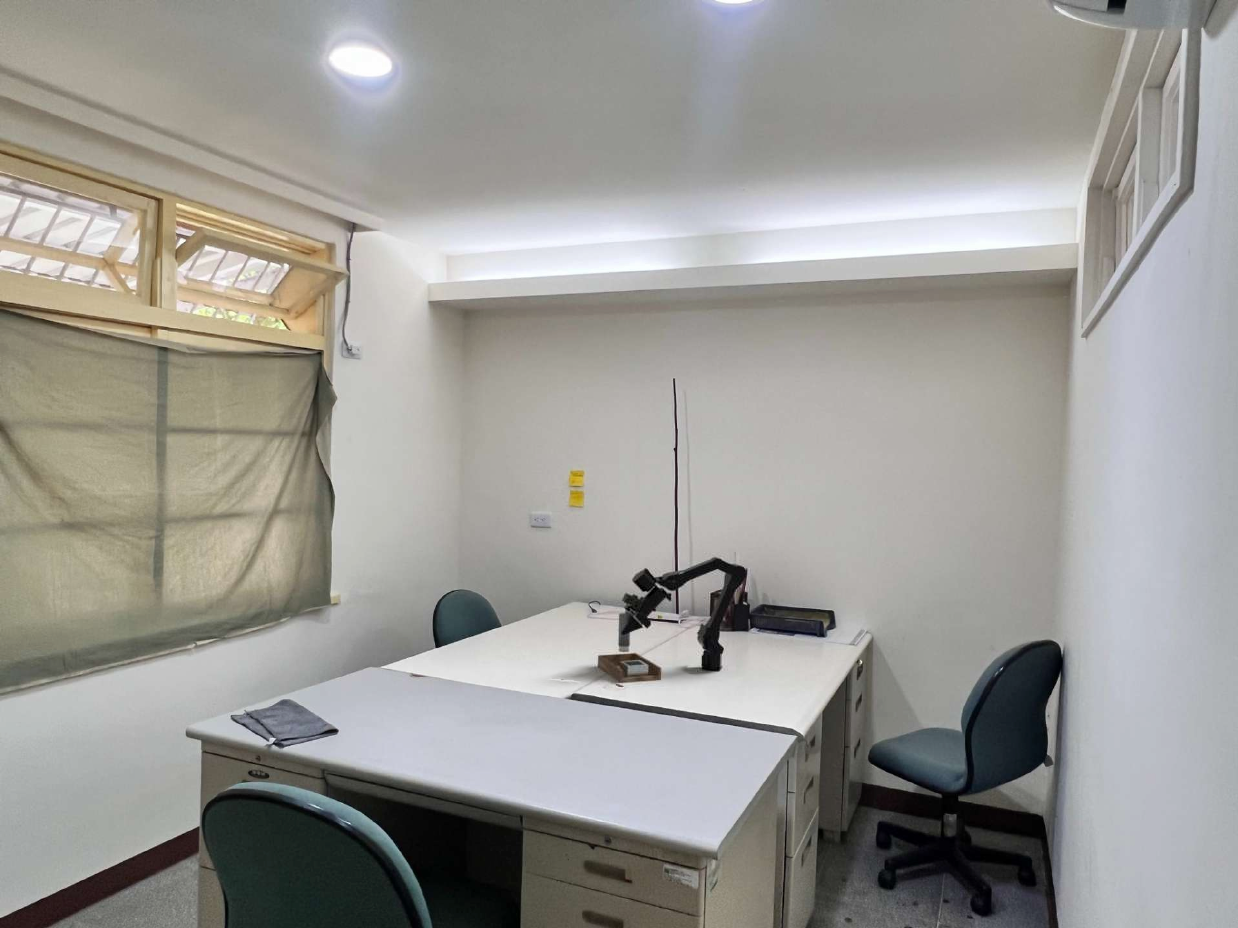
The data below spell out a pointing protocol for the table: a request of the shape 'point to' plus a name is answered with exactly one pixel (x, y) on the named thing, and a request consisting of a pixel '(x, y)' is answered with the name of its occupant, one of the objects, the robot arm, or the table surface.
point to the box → (613, 669)
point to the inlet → (634, 668)
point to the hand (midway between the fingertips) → (620, 632)
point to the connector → (625, 639)
